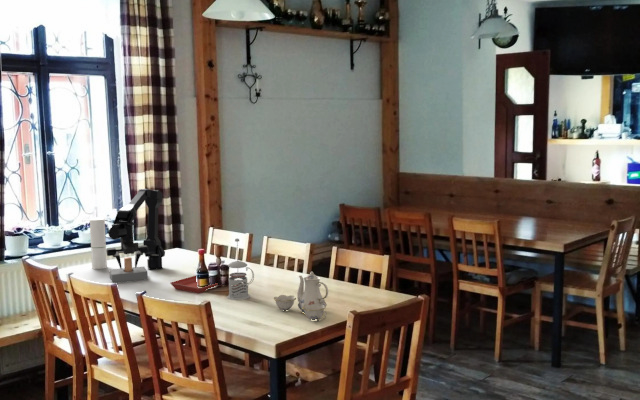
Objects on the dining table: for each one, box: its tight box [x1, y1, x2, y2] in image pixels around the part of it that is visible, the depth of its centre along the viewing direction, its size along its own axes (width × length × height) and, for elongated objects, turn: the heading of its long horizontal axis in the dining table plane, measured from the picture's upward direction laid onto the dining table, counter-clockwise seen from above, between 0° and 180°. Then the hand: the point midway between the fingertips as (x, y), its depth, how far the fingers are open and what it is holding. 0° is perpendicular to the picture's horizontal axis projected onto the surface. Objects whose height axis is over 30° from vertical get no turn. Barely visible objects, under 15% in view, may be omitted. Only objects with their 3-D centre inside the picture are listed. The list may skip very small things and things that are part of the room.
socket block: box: [109, 266, 149, 284], centre depth 318 cm, size 16×12×4 cm
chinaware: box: [273, 271, 329, 321], centre depth 257 cm, size 28×17×17 cm, turn 46°
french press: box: [226, 238, 255, 301], centre depth 282 cm, size 10×12×25 cm
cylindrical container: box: [89, 217, 108, 270], centre depth 342 cm, size 7×7×25 cm
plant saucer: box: [170, 275, 218, 294], centre depth 300 cm, size 18×18×3 cm
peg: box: [123, 256, 133, 272], centre depth 317 cm, size 3×3×10 cm
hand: (128, 268), depth 317 cm, fingers open, 6 cm apart
